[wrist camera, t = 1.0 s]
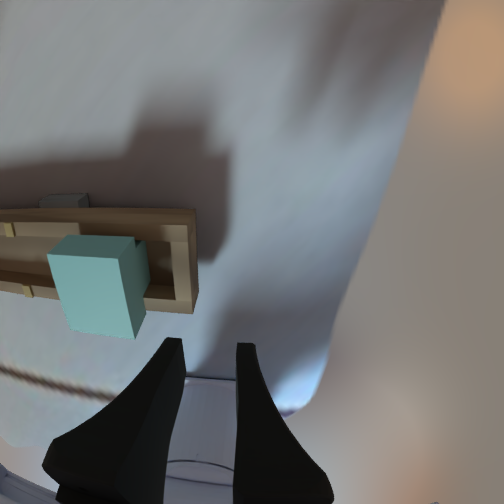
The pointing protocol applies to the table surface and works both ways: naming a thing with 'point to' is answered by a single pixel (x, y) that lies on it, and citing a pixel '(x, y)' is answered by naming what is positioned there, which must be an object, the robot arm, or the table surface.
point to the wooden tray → (101, 224)
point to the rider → (101, 283)
